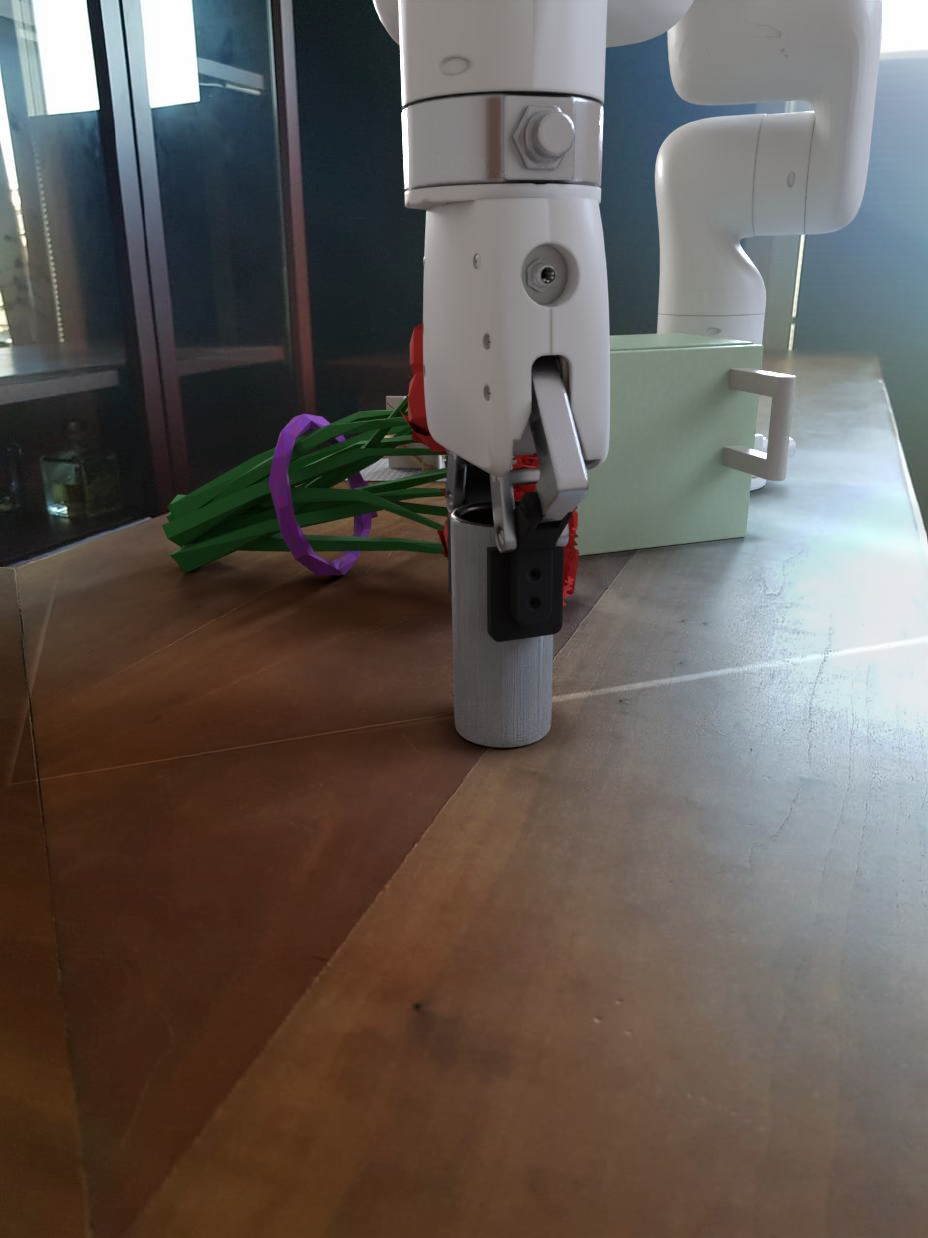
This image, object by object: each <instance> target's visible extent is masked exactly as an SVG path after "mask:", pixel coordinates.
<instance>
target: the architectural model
mask: <svg viewBox="0 0 928 1238" xmlns="http://www.w3.org/2000/svg"><path fill="white" fill-rule="evenodd" d="M406 396H407V395H404V396H403V395H387V396H385V407H386V409H385V410H393V409H396V408H397V407H398V405H399V404H400V403H401V402H402V401H403V400H404V399H405V397H406ZM407 409H408V408H407ZM395 435H396V434H389V435H386V436H385V437H384V438H389V437H393V436H395ZM396 448H429V447H428V446H426V445H424V444H422V443H410V444H405V445H399V446H397V447H396ZM442 456H443V455H418V456H388V458H381V459H380V460H379V461H377V462H376V463H374V464H372V465H370V466H369V467H367V468H365V469H363V470H361V471H360V473H361V475H362V477H363V479H364V481H367V482H368V481H370V482H371V481H374V482H375V481H377V482H386V481H391V480H395V479H400V478H404V477H408V476H412V475H417V474H421V473H425V472H429V471H433V470H438V469H442V468H446V467H445V464H444V461H446V459H445V458H443V457H442ZM446 480H447V478H444V479H440V480H437V481H436V482H446ZM344 481H348V479H345V480H344Z"/></svg>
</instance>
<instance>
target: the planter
mask: <svg viewBox="0 0 928 1238" xmlns="http://www.w3.org/2000/svg"><path fill="white" fill-rule="evenodd" d="M514 503H515V511H516V509H517V507H518V505H519V503H520V501H514ZM450 527H451V578H452V597H451V623H452V624H451V625H452V674H453V675H452V676H453V714H454V728H455V730H456V732H457V733H458V734H459V735H460V736H461V737H462V738H463V739H465V740H466V741H468V742H471V743H473V744H475V745H479V746H483V747H490V748H501V749H502V748H517V747H523V746H527V745H531V744H533V743H536V742H538V741H540V740H542V739H543V738H544V737H546V736H547V735H548V733H549V732H550V731H551V727H552V718H553V717H552V716H553V671H554V670H553V667H554V635H547V636H539V637H532V638H525V639H518V640H511V641H504V642H497V641H495V640H493V639H492V638H491V637H490V636H489V634H488V631H487V547H495V546H497V545H496V540H495V531H494V519H493V508H492V501H482V502H475V503H470V504H466V505H463V506H460V507H458V508H456V509H454V510H453V511H452V513H451V515H450Z"/></svg>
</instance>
